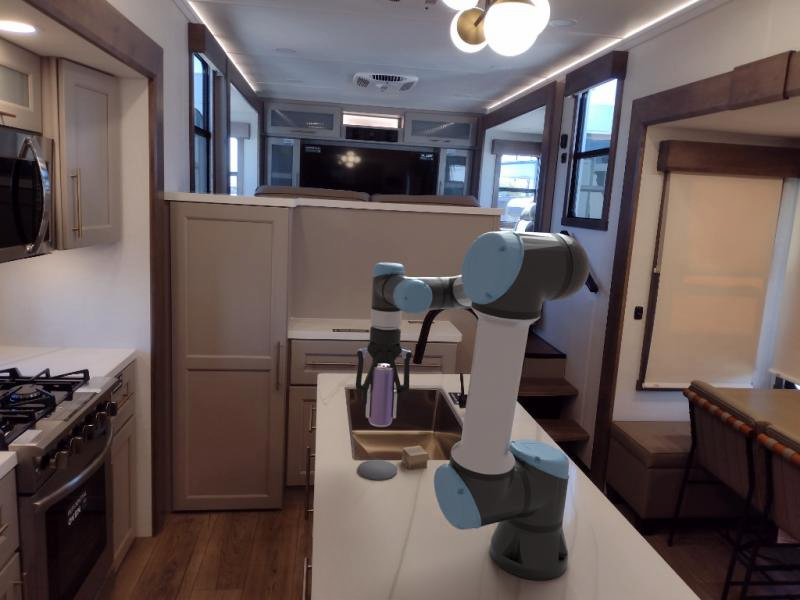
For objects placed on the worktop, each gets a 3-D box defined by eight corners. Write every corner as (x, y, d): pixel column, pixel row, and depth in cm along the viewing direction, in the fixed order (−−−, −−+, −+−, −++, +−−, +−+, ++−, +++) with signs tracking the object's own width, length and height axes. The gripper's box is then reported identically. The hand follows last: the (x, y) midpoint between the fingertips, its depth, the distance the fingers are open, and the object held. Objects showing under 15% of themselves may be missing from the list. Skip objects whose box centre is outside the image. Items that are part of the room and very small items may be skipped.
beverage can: (391, 428, 143) (395, 369, 140) (367, 426, 143) (370, 368, 140) (392, 419, 149) (395, 362, 146) (369, 417, 149) (372, 361, 146)
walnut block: (426, 467, 152) (427, 453, 151) (409, 470, 150) (410, 455, 149) (418, 459, 156) (419, 445, 156) (401, 461, 154) (402, 447, 154)
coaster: (398, 480, 144) (398, 478, 143) (358, 480, 142) (358, 477, 142) (395, 462, 153) (395, 460, 153) (357, 461, 152) (357, 459, 152)
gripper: (422, 324, 146) (416, 411, 150) (346, 321, 144) (342, 409, 148) (426, 331, 139) (419, 422, 143) (347, 328, 137) (342, 421, 141)
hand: (380, 415), depth 145 cm, fingers closed on beverage can, 6 cm apart
